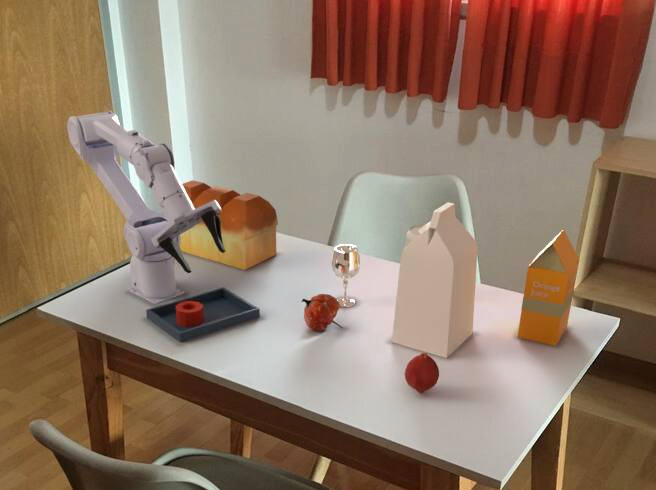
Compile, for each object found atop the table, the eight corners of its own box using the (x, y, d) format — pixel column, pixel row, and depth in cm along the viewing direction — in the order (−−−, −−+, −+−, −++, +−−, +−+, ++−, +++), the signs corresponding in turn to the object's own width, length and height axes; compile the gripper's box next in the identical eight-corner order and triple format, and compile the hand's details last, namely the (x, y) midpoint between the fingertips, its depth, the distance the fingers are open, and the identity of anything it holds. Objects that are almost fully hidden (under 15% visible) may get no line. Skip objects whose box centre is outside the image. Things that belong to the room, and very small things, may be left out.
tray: (146, 319, 166) (145, 309, 165) (224, 296, 176) (223, 287, 174) (180, 344, 157) (179, 333, 156) (259, 318, 167) (259, 308, 165)
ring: (172, 320, 165) (170, 305, 163) (195, 313, 168) (193, 298, 166) (185, 329, 161) (184, 314, 160) (208, 322, 164) (207, 307, 162)
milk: (446, 357, 153) (460, 222, 139) (391, 342, 158) (399, 210, 144) (472, 333, 161) (487, 203, 148) (419, 319, 167) (429, 193, 153)
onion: (400, 384, 144) (403, 343, 140) (433, 383, 145) (437, 342, 141) (406, 401, 139) (410, 360, 135) (440, 400, 140) (444, 359, 136)
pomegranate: (335, 329, 168) (296, 300, 165) (357, 306, 163) (317, 276, 161) (328, 349, 162) (288, 319, 159) (351, 326, 157) (310, 295, 155)
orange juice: (567, 328, 164) (585, 231, 153) (556, 346, 157) (574, 246, 146) (528, 319, 167) (543, 224, 156) (516, 337, 160) (530, 239, 150)
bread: (278, 254, 196) (277, 193, 189) (245, 270, 188) (243, 207, 180) (200, 232, 209) (196, 174, 201) (165, 247, 200) (160, 187, 192)
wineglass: (327, 305, 172) (328, 251, 166) (336, 295, 176) (338, 241, 170) (353, 310, 170) (354, 255, 164) (362, 299, 175) (364, 245, 168)
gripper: (134, 215, 155) (165, 276, 153) (198, 174, 153) (231, 236, 151) (149, 224, 162) (179, 283, 160) (211, 186, 160) (242, 245, 158)
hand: (205, 261), depth 156 cm, fingers open, 7 cm apart
